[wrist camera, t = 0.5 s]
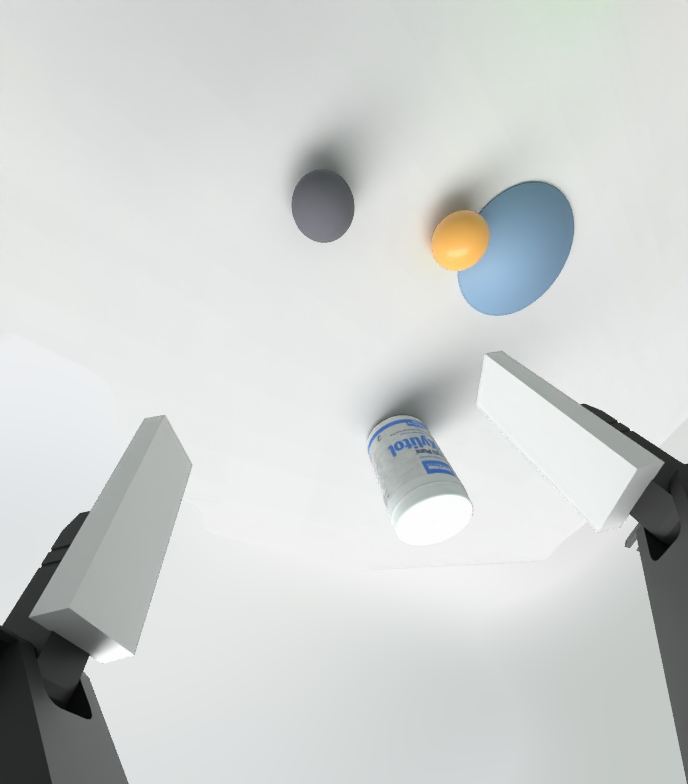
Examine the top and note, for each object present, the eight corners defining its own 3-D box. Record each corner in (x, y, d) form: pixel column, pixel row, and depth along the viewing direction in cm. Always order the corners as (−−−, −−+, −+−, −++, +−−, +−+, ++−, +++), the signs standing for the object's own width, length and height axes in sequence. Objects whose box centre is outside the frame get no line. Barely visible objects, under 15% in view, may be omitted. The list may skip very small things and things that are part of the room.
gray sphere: (280, 185, 28) (281, 181, 23) (337, 163, 28) (349, 155, 23) (303, 247, 31) (308, 255, 26) (354, 227, 31) (368, 232, 26)
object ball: (418, 220, 32) (442, 223, 27) (468, 201, 32) (501, 200, 27) (426, 273, 35) (449, 284, 30) (472, 255, 35) (502, 264, 30)
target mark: (451, 210, 32) (452, 210, 32) (579, 161, 32) (581, 161, 31) (463, 331, 39) (464, 331, 39) (566, 292, 39) (567, 292, 39)
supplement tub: (420, 403, 44) (475, 480, 32) (428, 448, 50) (478, 529, 37) (357, 426, 44) (387, 512, 32) (372, 468, 50) (403, 556, 37)
